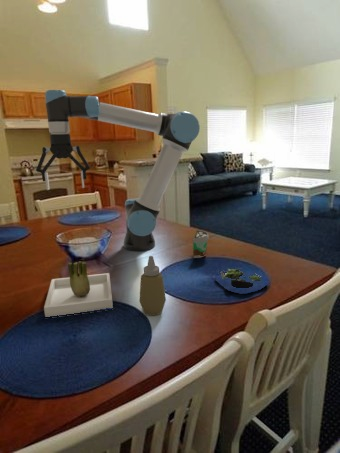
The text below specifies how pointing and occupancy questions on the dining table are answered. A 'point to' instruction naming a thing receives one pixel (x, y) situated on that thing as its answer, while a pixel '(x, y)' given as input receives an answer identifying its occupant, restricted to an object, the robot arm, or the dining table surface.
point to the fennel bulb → (79, 279)
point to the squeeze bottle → (152, 289)
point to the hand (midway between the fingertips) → (65, 188)
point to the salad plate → (235, 275)
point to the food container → (200, 243)
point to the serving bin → (69, 303)
